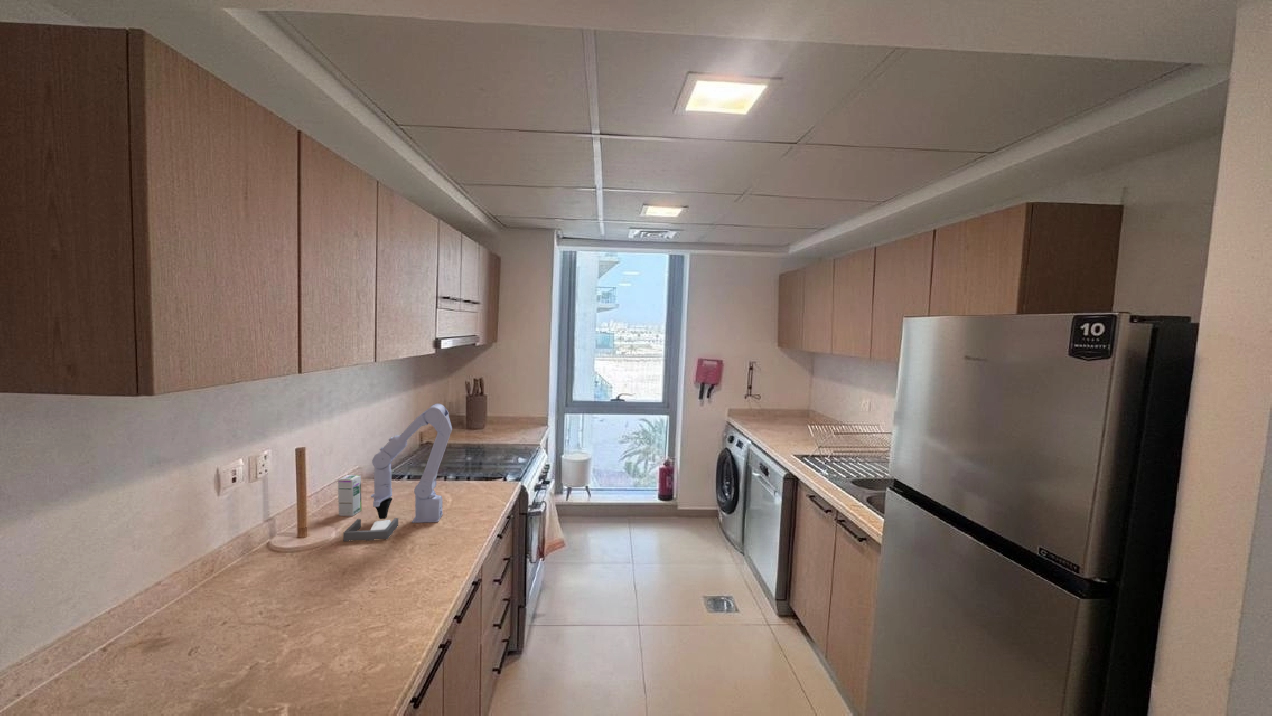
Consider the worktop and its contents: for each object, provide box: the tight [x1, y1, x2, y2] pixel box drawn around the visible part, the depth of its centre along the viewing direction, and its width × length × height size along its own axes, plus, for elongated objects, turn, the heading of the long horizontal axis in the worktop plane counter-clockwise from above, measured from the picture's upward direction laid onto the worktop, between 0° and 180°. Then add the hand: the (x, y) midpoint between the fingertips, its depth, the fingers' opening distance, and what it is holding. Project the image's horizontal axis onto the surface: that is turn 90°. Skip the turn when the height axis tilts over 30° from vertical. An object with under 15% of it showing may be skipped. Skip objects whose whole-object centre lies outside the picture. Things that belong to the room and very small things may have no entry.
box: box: [342, 517, 399, 542], centre depth 172 cm, size 14×12×3 cm
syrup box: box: [337, 474, 363, 517], centre depth 189 cm, size 6×6×14 cm
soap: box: [370, 519, 392, 530], centre depth 173 cm, size 9×6×3 cm, turn 18°
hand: (383, 518), depth 183 cm, fingers closed
